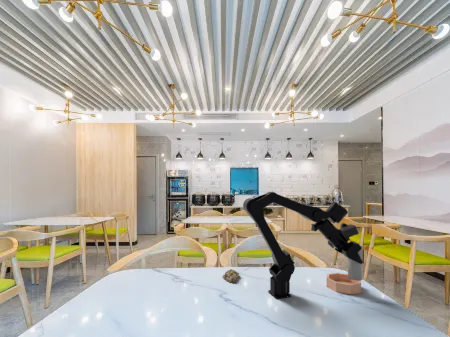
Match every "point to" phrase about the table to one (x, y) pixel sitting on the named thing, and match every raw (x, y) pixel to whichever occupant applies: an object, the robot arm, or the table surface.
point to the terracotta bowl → (343, 283)
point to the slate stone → (355, 269)
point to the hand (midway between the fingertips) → (358, 261)
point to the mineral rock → (231, 276)
